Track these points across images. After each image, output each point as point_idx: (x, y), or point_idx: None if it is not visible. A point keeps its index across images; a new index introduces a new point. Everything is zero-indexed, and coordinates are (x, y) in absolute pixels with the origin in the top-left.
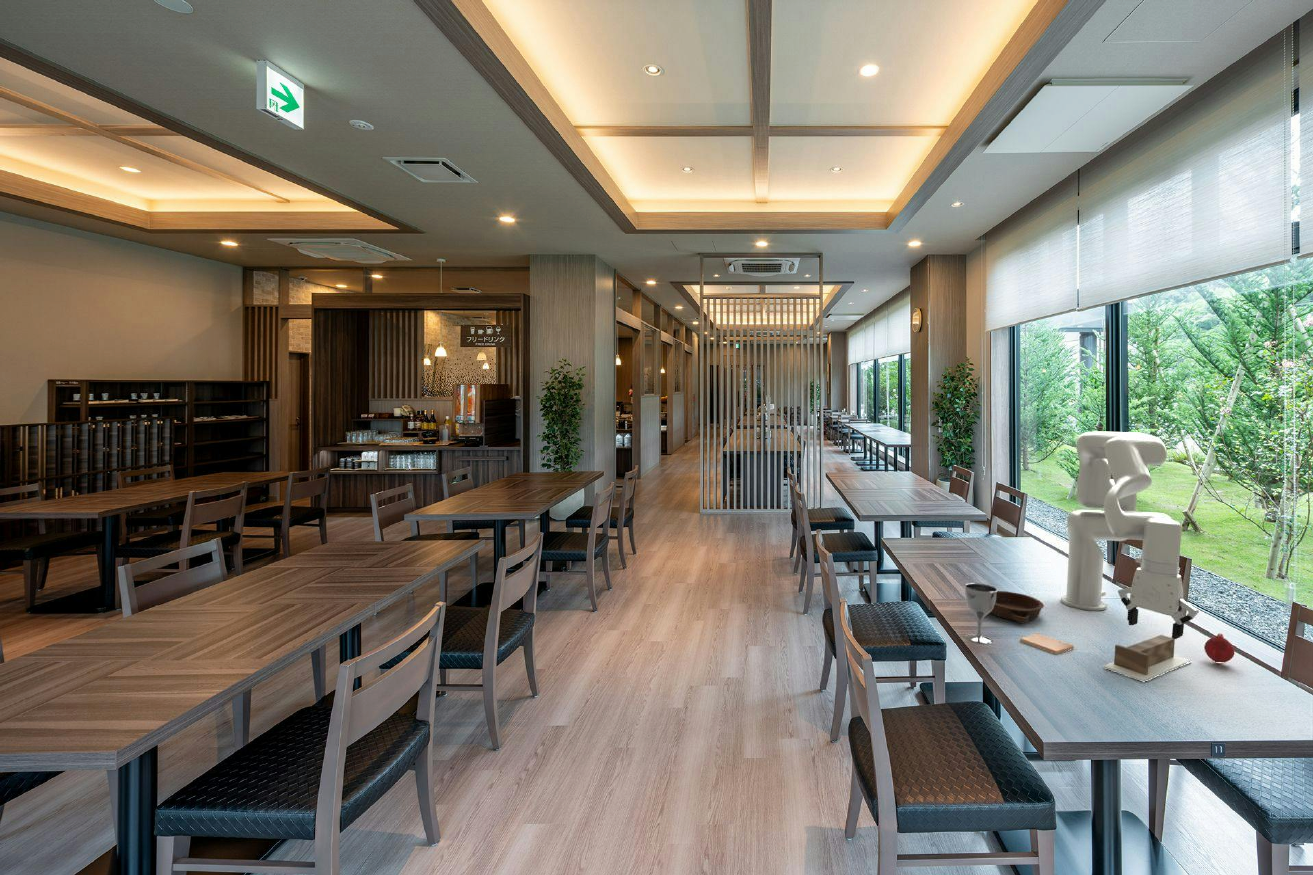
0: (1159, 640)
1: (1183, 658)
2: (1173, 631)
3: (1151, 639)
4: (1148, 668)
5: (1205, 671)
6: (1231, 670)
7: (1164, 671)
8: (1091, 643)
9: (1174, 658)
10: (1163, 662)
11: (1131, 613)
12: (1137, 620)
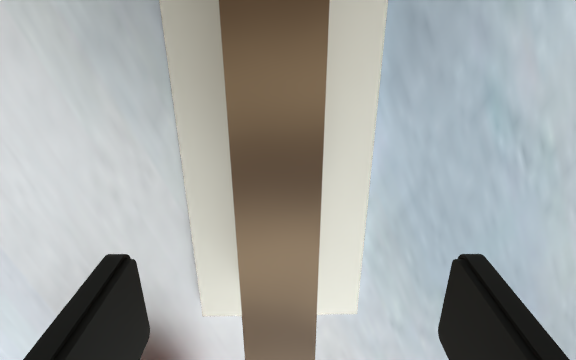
0: (273, 278)
1: (227, 309)
2: (89, 295)
3: (308, 253)
4: None
5: None
6: None
7: (168, 64)
8: (570, 164)
9: None
10: None
11: (534, 348)
12: (447, 355)
